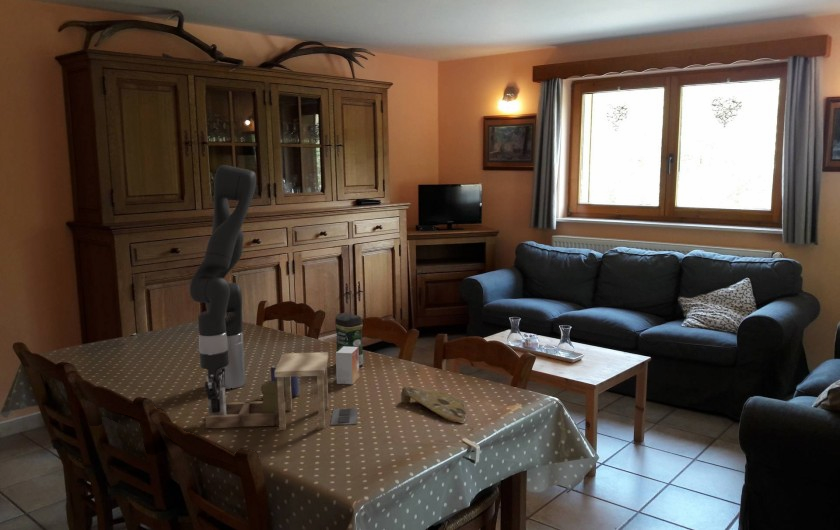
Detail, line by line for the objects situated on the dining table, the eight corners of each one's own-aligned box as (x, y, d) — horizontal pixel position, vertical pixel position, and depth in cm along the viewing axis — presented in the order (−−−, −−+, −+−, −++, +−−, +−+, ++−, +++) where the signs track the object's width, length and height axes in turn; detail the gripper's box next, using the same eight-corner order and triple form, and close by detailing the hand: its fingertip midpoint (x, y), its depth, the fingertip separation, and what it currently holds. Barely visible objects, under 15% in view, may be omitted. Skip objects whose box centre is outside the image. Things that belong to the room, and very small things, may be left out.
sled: (206, 428, 180) (204, 396, 178) (215, 413, 191) (213, 382, 189) (279, 425, 181) (277, 393, 180) (284, 410, 192) (283, 380, 191)
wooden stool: (277, 431, 178) (274, 371, 176) (285, 408, 195) (282, 353, 193) (356, 427, 180) (354, 368, 177) (357, 405, 196) (355, 351, 194)
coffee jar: (332, 364, 237) (330, 313, 234) (350, 360, 242) (348, 310, 240) (349, 370, 230) (348, 317, 227) (367, 365, 236) (366, 314, 233)
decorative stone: (397, 402, 199) (400, 386, 198) (436, 398, 208) (439, 382, 208) (450, 437, 180) (454, 419, 179) (491, 431, 189) (494, 414, 189)
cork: (259, 418, 188) (257, 380, 186) (281, 414, 190) (279, 377, 188) (262, 425, 182) (260, 387, 180) (285, 422, 184) (283, 384, 183)
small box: (352, 385, 215) (351, 353, 213) (336, 384, 216) (335, 352, 214) (360, 377, 223) (359, 346, 221) (343, 376, 224) (342, 345, 222)
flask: (300, 394, 206) (299, 361, 205) (296, 398, 204) (295, 364, 202) (274, 392, 209) (272, 359, 207) (269, 395, 206) (267, 362, 204)
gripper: (205, 342, 189) (209, 401, 192) (192, 357, 175) (197, 419, 178) (232, 341, 189) (236, 400, 192) (221, 355, 176) (225, 418, 178)
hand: (217, 409), depth 185 cm, fingers closed on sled, 3 cm apart
